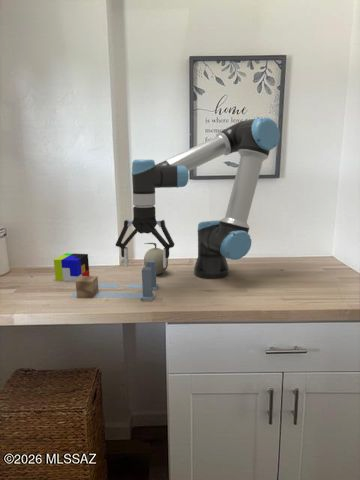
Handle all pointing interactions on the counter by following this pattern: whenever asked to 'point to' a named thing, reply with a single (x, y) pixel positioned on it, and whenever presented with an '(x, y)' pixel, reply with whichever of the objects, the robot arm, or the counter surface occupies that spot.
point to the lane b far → (108, 285)
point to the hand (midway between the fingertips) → (145, 266)
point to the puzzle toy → (71, 267)
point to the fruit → (156, 258)
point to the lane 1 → (144, 296)
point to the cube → (87, 286)
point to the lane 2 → (154, 286)
